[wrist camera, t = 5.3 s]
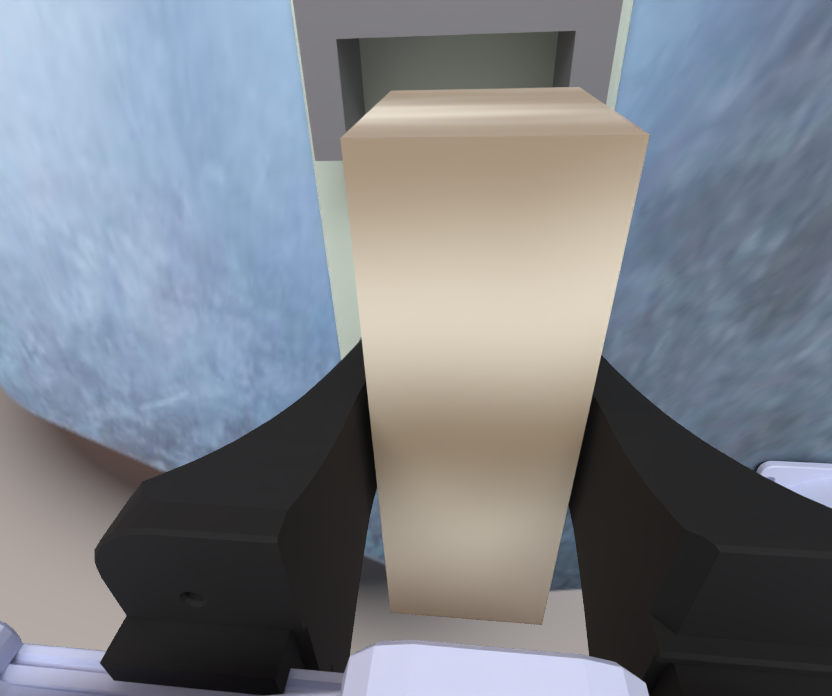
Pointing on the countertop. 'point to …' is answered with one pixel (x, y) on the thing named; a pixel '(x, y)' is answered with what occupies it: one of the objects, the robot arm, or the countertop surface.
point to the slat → (483, 327)
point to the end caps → (434, 78)
